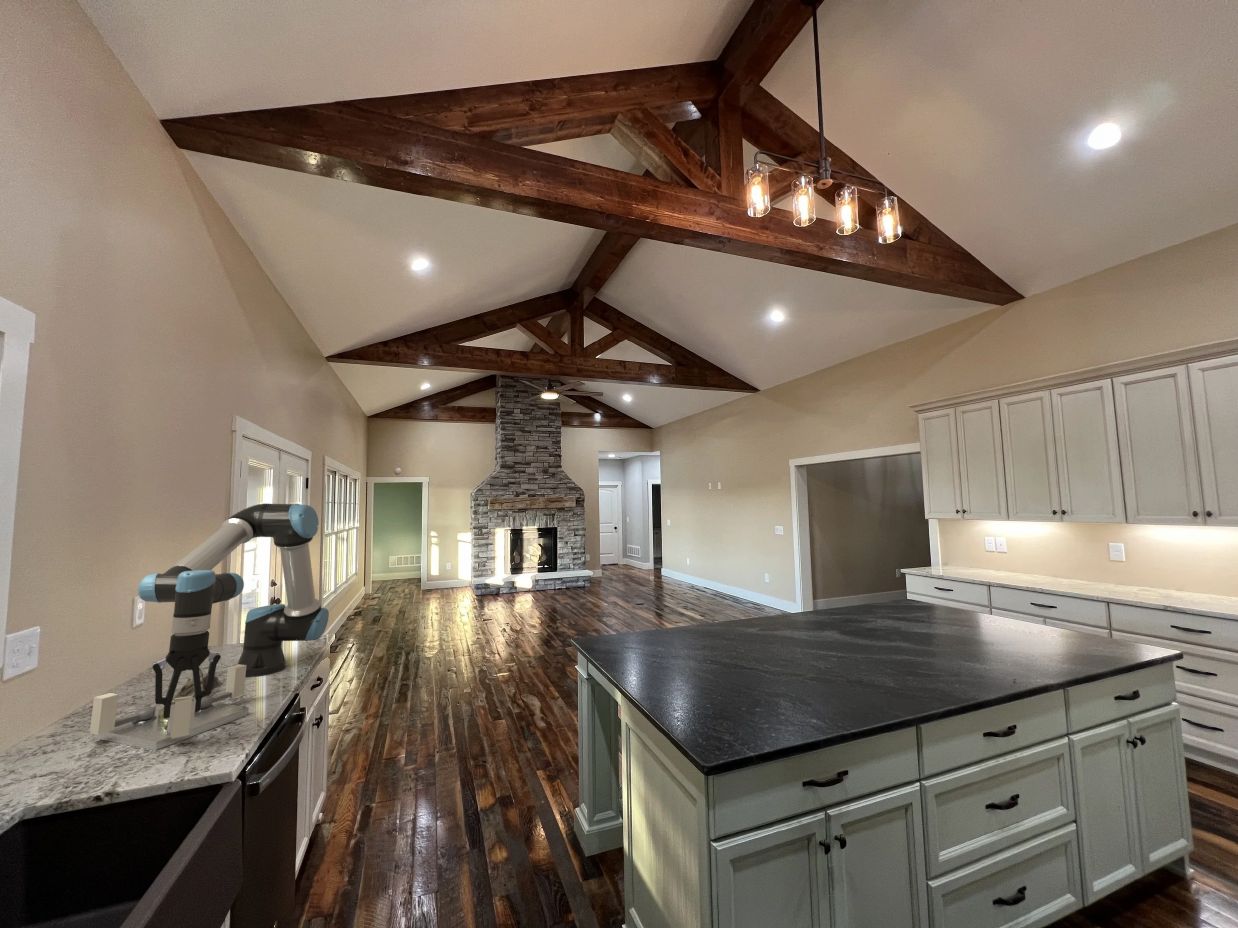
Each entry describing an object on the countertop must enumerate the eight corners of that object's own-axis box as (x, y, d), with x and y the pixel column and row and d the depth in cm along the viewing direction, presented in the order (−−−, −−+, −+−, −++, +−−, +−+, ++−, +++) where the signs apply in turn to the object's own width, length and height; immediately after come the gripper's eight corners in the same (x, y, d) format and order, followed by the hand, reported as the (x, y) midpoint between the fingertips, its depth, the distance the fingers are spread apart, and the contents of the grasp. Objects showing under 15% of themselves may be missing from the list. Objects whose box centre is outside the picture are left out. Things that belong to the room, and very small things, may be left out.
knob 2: (166, 723, 130) (170, 689, 131) (186, 718, 133) (190, 685, 134) (169, 739, 121) (173, 702, 122) (190, 734, 124) (194, 698, 125)
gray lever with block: (200, 709, 140) (203, 677, 140) (190, 707, 141) (193, 676, 142) (244, 694, 152) (247, 665, 153) (234, 692, 153) (237, 664, 154)
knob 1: (148, 713, 136) (152, 681, 137) (158, 715, 135) (162, 682, 136) (88, 732, 124) (93, 696, 125) (99, 734, 123) (103, 698, 124)
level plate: (189, 705, 149) (191, 685, 150) (247, 714, 143) (249, 694, 144) (91, 737, 127) (94, 714, 128) (155, 750, 121) (158, 726, 122)
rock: (205, 699, 152) (195, 668, 153) (164, 715, 149) (155, 683, 150) (233, 684, 169) (225, 656, 170) (198, 698, 166) (189, 670, 167)
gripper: (147, 640, 118) (135, 743, 116) (232, 630, 130) (223, 723, 127) (146, 634, 124) (134, 732, 121) (228, 625, 135) (219, 715, 132)
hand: (180, 727), depth 124 cm, fingers closed on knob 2, 3 cm apart
